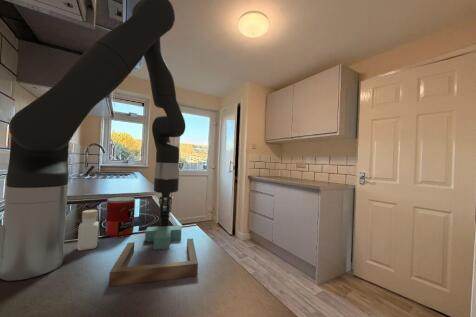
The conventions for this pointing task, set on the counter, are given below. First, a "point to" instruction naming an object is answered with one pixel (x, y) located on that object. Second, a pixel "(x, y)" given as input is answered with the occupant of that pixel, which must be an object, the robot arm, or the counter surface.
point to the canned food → (120, 216)
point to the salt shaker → (88, 230)
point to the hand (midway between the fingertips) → (164, 230)
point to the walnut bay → (152, 268)
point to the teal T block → (162, 235)
